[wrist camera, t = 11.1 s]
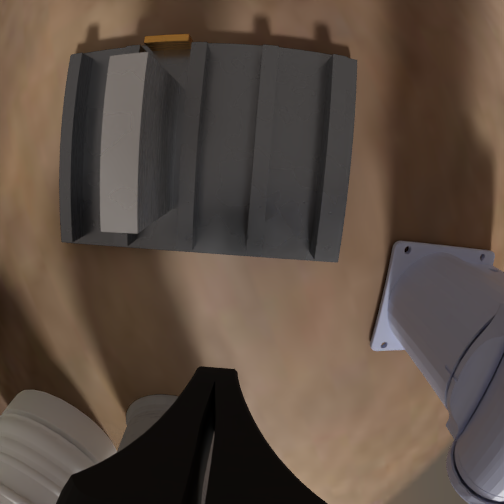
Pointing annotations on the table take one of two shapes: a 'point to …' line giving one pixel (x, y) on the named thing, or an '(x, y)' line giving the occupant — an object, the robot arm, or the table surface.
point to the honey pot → (45, 447)
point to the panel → (137, 143)
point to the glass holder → (148, 414)
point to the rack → (226, 150)
